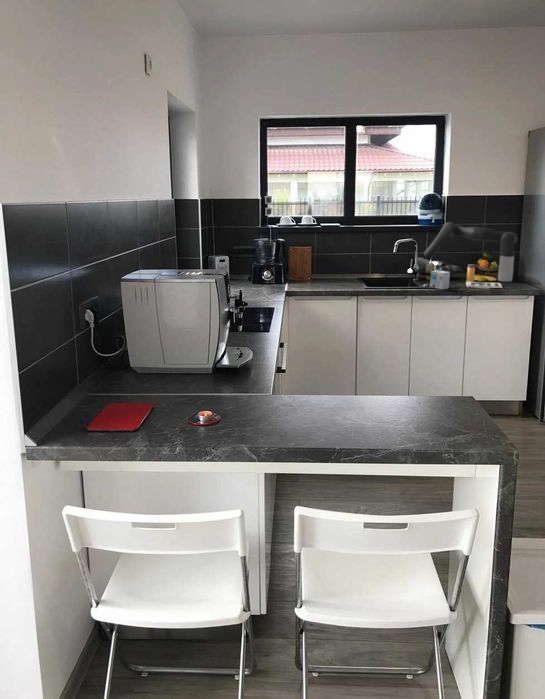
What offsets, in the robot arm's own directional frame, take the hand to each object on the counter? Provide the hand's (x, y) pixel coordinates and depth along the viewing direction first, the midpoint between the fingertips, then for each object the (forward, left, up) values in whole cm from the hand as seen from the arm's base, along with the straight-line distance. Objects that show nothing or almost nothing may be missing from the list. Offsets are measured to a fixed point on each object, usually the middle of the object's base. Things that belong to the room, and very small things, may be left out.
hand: (457, 269), depth 471 cm
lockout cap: (-9, +7, -7) cm, 13 cm away
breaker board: (-17, +20, -7) cm, 27 cm away
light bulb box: (+12, +33, -7) cm, 36 cm away
